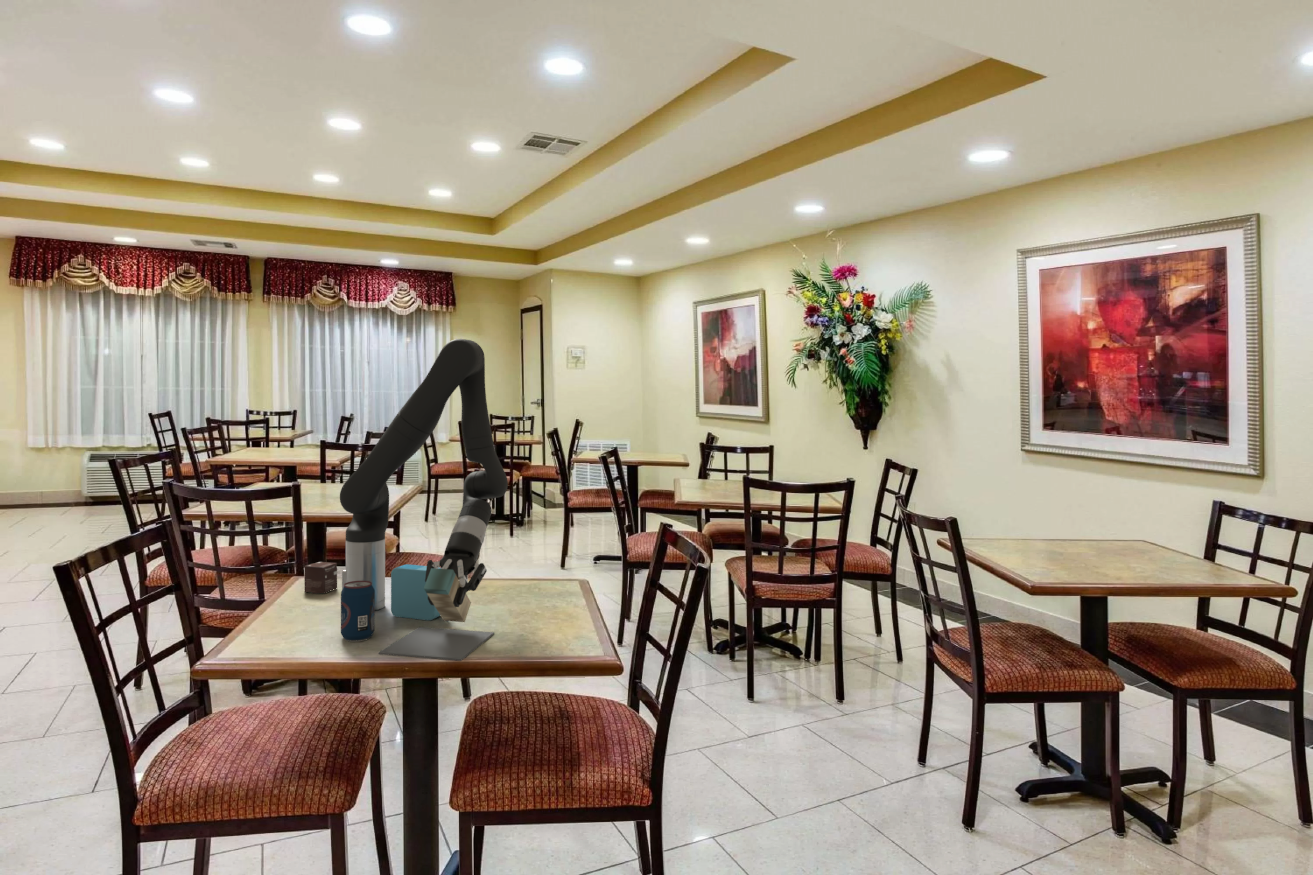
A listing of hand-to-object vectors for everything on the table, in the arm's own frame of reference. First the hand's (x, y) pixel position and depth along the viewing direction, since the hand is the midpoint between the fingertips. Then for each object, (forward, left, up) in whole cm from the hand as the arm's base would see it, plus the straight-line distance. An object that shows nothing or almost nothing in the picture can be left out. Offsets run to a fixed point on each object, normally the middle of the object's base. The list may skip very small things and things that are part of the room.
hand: (443, 603), depth 167 cm
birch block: (0, +7, -4) cm, 8 cm away
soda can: (-19, -2, -8) cm, 21 cm away
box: (-50, +32, -8) cm, 60 cm away
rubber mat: (0, -2, -8) cm, 8 cm away
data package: (-14, +16, -8) cm, 23 cm away
